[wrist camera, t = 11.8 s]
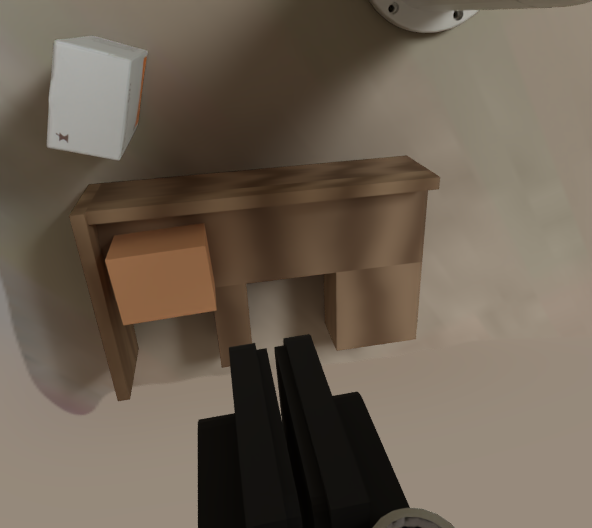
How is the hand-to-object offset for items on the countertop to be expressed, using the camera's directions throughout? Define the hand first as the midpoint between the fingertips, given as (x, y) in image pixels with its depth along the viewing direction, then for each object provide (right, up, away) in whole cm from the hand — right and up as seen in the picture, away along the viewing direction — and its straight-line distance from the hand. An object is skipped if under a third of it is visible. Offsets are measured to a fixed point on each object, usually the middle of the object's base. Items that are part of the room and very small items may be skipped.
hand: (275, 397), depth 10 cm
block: (-10, +3, +30) cm, 32 cm away
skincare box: (-14, +17, +28) cm, 36 cm away
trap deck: (-3, +4, +37) cm, 37 cm away
